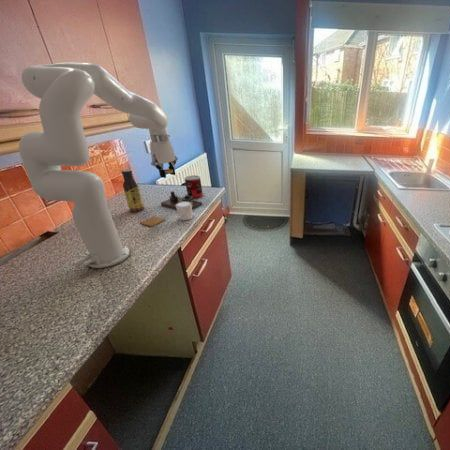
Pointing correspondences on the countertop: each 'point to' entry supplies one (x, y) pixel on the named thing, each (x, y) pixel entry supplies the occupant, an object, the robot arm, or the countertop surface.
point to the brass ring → (168, 171)
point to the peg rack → (175, 200)
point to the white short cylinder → (184, 210)
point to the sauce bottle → (132, 191)
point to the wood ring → (187, 199)
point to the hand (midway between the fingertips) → (168, 175)
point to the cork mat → (152, 221)
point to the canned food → (193, 186)
